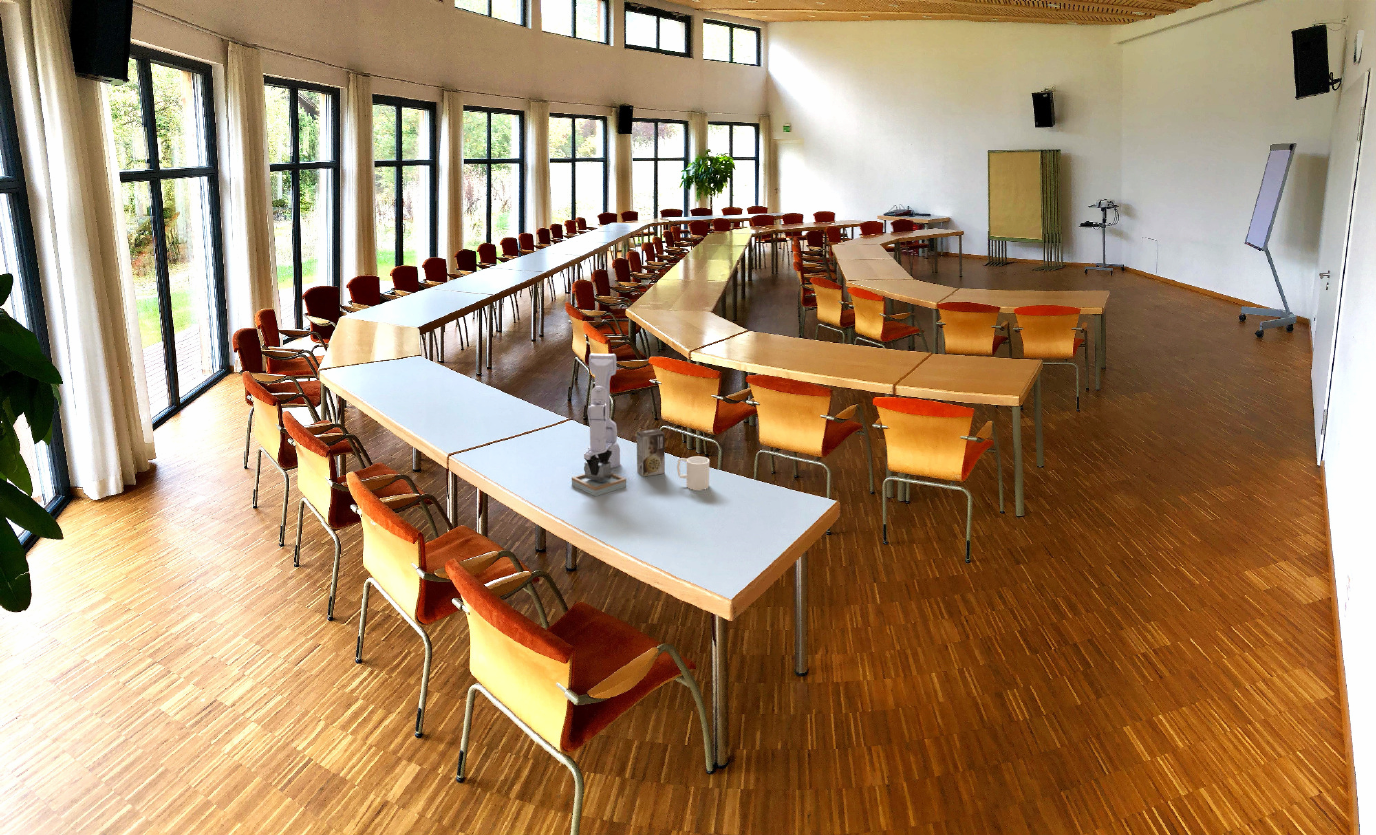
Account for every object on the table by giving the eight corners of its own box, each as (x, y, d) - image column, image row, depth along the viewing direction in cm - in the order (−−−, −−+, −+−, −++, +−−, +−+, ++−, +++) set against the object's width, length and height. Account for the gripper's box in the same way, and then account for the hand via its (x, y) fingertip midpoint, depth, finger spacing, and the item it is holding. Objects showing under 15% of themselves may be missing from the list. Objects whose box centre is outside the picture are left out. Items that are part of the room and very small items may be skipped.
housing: (611, 477, 319) (610, 462, 317) (603, 482, 314) (602, 466, 313) (590, 473, 323) (590, 458, 321) (582, 477, 319) (582, 462, 317)
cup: (680, 479, 326) (680, 454, 323) (711, 483, 323) (712, 457, 320) (673, 487, 319) (673, 461, 316) (705, 491, 315) (706, 465, 312)
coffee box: (658, 468, 337) (658, 428, 333) (665, 473, 332) (665, 433, 327) (636, 471, 334) (636, 431, 329) (642, 477, 328) (642, 436, 323)
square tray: (602, 476, 329) (602, 468, 328) (626, 486, 319) (626, 478, 318) (571, 485, 320) (571, 477, 319) (595, 496, 310) (595, 488, 309)
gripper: (600, 429, 322) (601, 464, 326) (576, 440, 310) (577, 476, 314) (616, 432, 318) (617, 467, 322) (593, 443, 306) (593, 480, 310)
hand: (598, 472), depth 318 cm, fingers closed on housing, 5 cm apart
